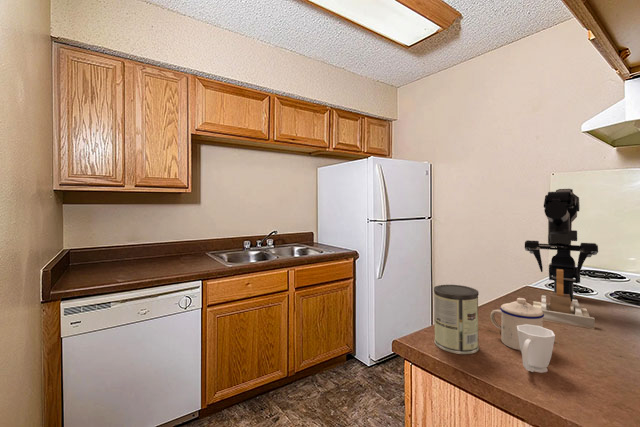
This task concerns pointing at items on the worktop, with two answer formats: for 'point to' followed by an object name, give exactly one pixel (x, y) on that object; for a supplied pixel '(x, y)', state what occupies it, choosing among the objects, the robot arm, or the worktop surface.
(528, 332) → the cup
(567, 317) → the lane tray
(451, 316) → the coffee can
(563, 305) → the tan wooden block
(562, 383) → the worktop surface
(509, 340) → the teacup with lid
